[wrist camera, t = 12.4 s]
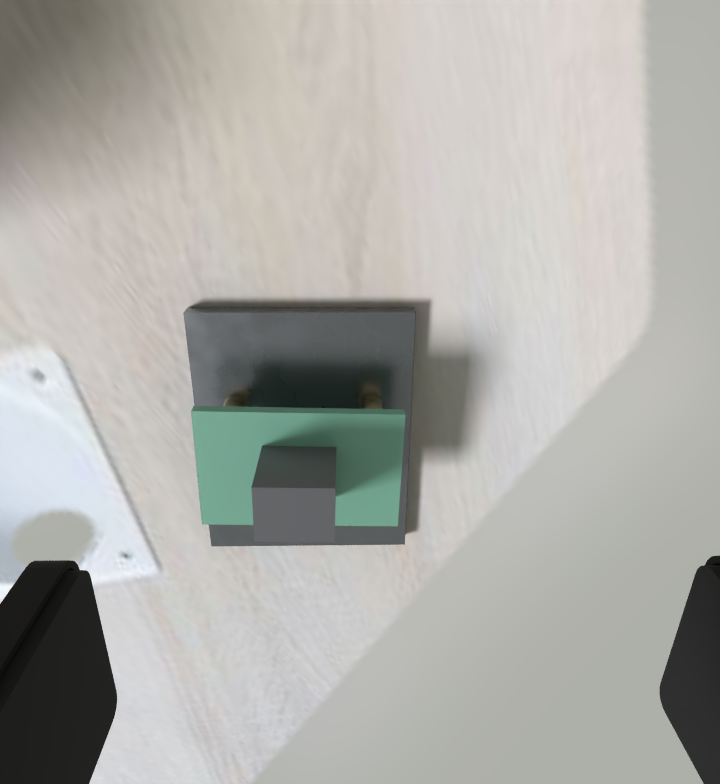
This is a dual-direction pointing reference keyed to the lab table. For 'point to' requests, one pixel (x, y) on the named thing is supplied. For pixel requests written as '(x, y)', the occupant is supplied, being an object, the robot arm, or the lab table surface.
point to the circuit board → (299, 427)
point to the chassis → (305, 378)
